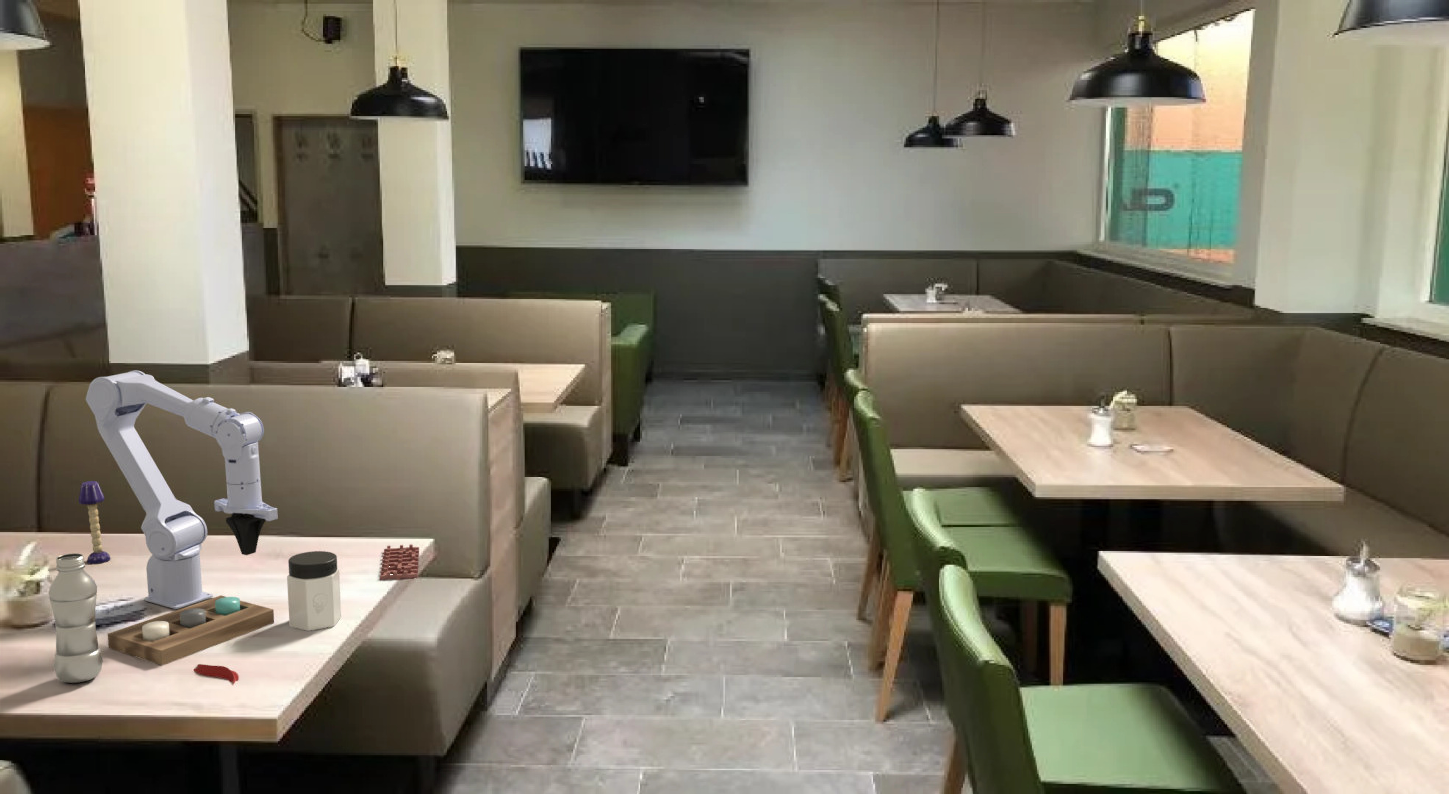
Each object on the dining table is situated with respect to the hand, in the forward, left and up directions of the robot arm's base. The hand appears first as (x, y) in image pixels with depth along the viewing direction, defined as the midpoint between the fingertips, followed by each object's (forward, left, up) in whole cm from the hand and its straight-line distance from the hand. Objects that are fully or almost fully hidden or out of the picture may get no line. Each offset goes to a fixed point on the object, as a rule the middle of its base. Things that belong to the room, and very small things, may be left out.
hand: (248, 553), depth 211 cm
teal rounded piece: (+3, -7, -9) cm, 12 cm away
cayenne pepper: (+20, -23, -11) cm, 32 cm away
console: (+3, -14, -10) cm, 18 cm away
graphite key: (+3, -14, -9) cm, 17 cm away
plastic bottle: (+4, -35, -11) cm, 37 cm away
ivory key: (+3, -21, -9) cm, 23 cm away
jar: (+16, +1, -11) cm, 19 cm away
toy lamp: (-49, +2, -11) cm, 50 cm away
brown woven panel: (+5, +32, -11) cm, 35 cm away
